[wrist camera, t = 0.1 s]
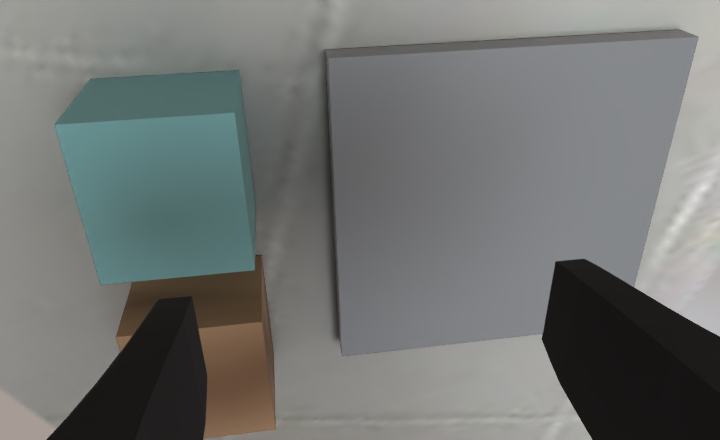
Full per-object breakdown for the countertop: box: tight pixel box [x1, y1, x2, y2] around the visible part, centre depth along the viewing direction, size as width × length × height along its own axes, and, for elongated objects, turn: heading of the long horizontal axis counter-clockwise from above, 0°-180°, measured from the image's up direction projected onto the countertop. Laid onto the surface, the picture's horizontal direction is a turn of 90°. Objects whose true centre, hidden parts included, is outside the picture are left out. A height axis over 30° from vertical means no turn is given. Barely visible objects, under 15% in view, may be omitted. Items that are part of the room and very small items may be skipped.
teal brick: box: [54, 70, 256, 285], centre depth 19 cm, size 5×4×4 cm
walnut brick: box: [116, 255, 276, 438], centre depth 22 cm, size 5×4×4 cm
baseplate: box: [325, 30, 698, 356], centre depth 22 cm, size 12×12×1 cm
